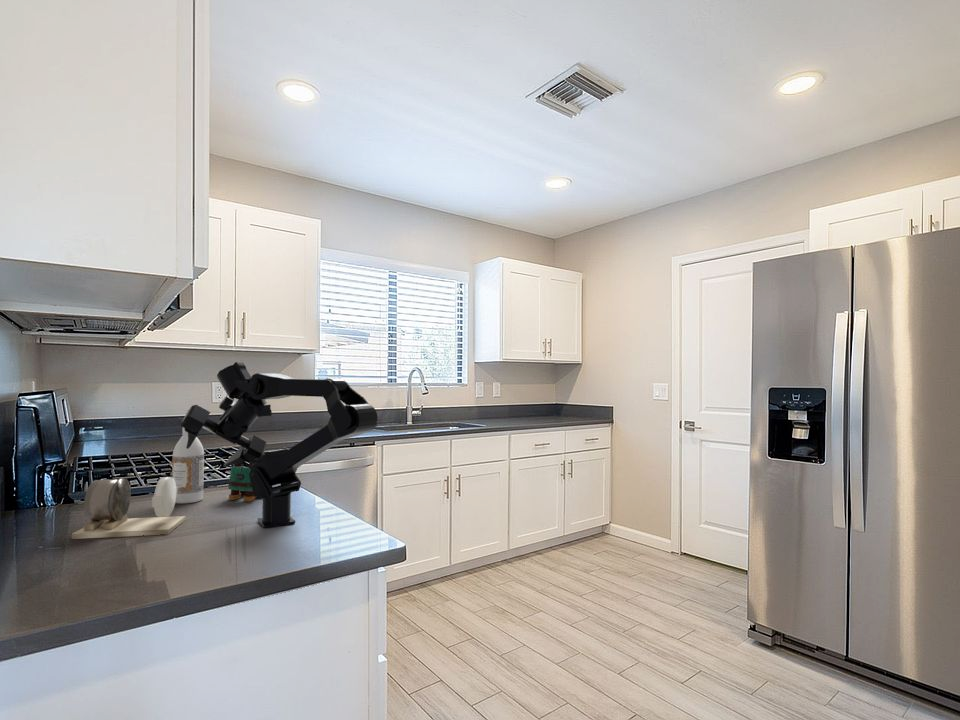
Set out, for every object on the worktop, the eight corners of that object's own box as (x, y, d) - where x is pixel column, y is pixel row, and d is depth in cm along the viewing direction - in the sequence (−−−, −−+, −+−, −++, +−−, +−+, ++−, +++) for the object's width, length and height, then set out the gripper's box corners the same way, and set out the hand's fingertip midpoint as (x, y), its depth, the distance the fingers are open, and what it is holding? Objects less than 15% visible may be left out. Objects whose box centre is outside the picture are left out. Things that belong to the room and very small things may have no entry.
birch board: (185, 520, 116) (185, 510, 116) (168, 534, 106) (168, 523, 106) (97, 524, 112) (97, 514, 112) (71, 539, 102) (71, 527, 102)
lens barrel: (130, 514, 113) (131, 474, 113) (111, 525, 105) (112, 482, 105) (103, 515, 112) (104, 475, 112) (82, 527, 104) (84, 483, 104)
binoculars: (279, 457, 142) (253, 459, 133) (275, 498, 141) (249, 502, 132) (251, 455, 145) (224, 457, 136) (248, 495, 144) (220, 499, 134)
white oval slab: (177, 510, 115) (178, 473, 116) (160, 522, 106) (161, 481, 106) (168, 510, 115) (169, 473, 115) (151, 522, 106) (152, 482, 106)
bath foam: (164, 503, 131) (166, 422, 131) (184, 497, 138) (186, 419, 138) (190, 504, 130) (192, 422, 130) (209, 498, 137) (210, 420, 137)
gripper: (285, 413, 131) (250, 452, 136) (214, 373, 123) (179, 416, 127) (277, 442, 121) (239, 483, 126) (199, 401, 113) (162, 446, 118)
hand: (206, 456), depth 125 cm, fingers open, 9 cm apart
